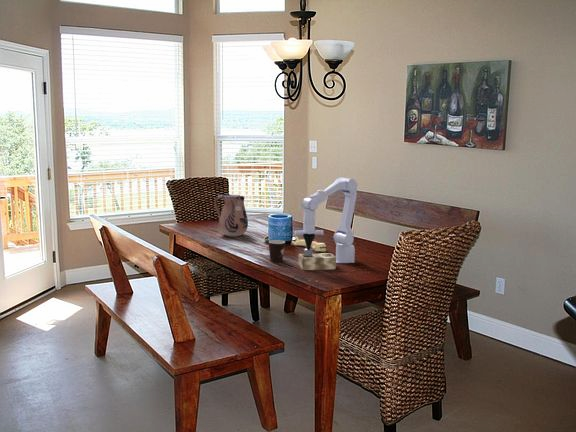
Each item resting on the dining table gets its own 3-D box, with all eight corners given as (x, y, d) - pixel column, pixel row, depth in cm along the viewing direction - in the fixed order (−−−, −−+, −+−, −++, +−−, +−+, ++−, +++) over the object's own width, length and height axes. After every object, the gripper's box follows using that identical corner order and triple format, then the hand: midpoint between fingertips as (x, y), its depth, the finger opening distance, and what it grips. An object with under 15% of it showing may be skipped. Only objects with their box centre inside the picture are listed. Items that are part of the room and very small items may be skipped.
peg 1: (311, 258, 297) (311, 248, 296) (313, 260, 293) (313, 250, 292) (302, 259, 296) (303, 248, 295) (304, 261, 292) (305, 250, 291)
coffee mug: (274, 263, 301) (274, 244, 300) (264, 259, 308) (265, 241, 307) (292, 260, 308) (293, 242, 307) (283, 257, 315) (283, 238, 313)
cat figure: (288, 248, 342) (319, 253, 324) (288, 233, 341) (318, 237, 323) (300, 246, 349) (331, 250, 330) (300, 231, 348) (331, 235, 329)
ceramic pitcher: (246, 238, 357) (247, 198, 353) (211, 237, 358) (211, 197, 353) (248, 233, 375) (249, 194, 370) (215, 232, 375) (216, 193, 371)
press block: (330, 264, 302) (331, 253, 301) (335, 269, 294) (336, 257, 293) (298, 265, 299) (298, 253, 298) (302, 270, 290) (302, 258, 289)
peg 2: (329, 265, 300) (329, 254, 299) (331, 267, 296) (332, 256, 295) (320, 265, 299) (321, 254, 298) (323, 267, 295) (323, 256, 294)
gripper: (296, 223, 286) (295, 250, 288) (325, 223, 289) (324, 250, 291) (293, 221, 293) (292, 247, 295) (321, 220, 296) (320, 247, 298)
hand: (308, 248), depth 294 cm, fingers closed
